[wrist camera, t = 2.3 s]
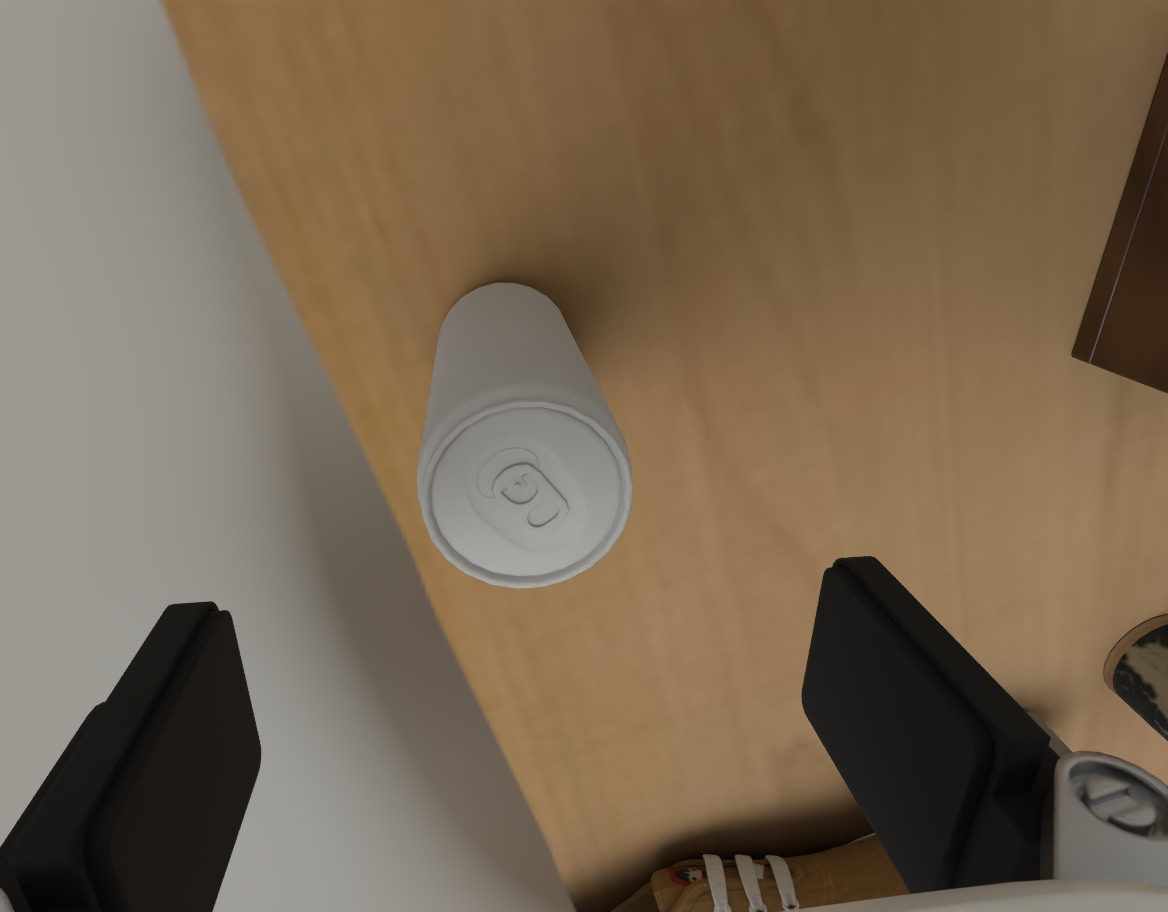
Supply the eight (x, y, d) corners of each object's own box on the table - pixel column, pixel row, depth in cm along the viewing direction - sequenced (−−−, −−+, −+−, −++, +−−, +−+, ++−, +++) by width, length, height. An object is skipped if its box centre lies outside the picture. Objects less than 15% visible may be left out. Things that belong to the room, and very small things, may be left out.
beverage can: (516, 250, 24) (551, 347, 14) (595, 355, 26) (680, 512, 16) (410, 334, 25) (363, 488, 14) (495, 430, 27) (510, 629, 16)
